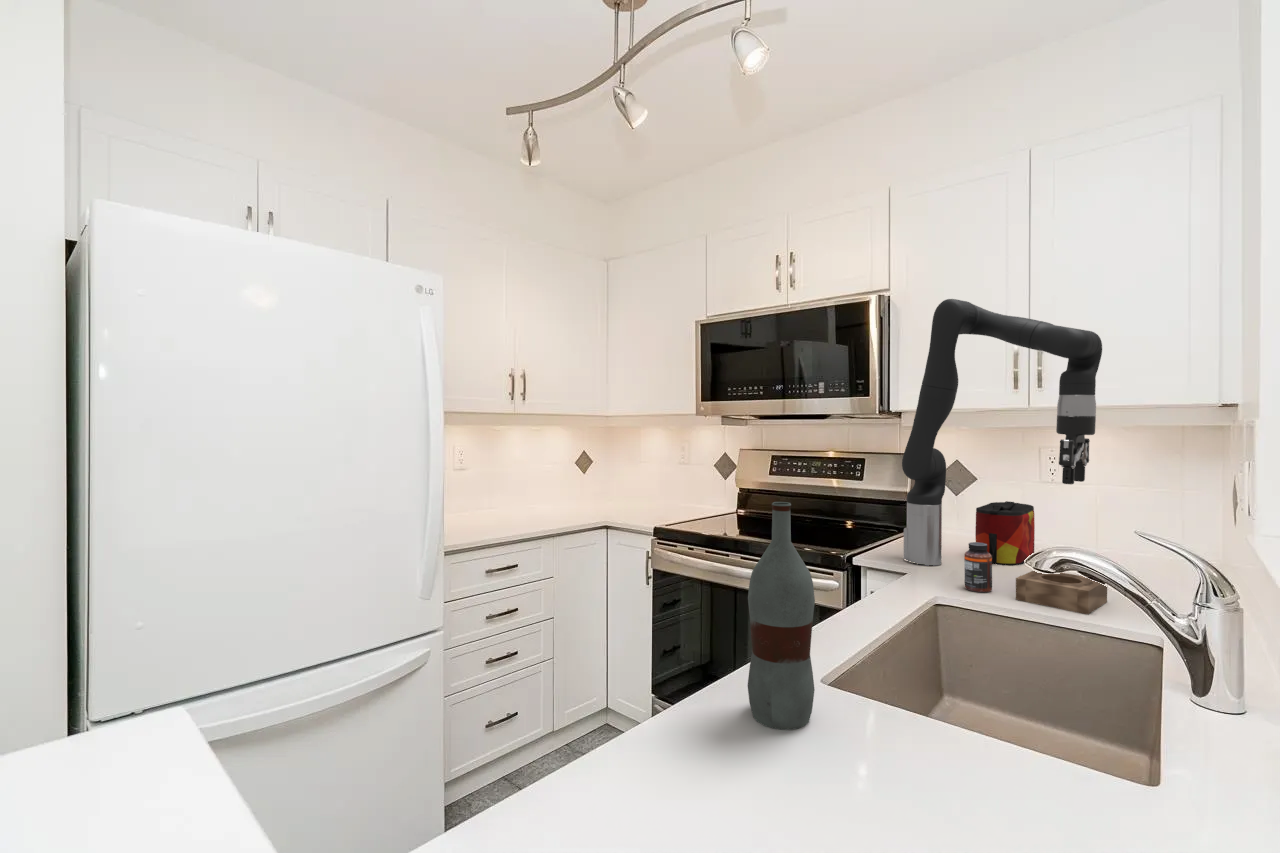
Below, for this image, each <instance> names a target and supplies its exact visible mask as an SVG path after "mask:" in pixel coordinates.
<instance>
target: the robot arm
mask: <svg viewBox="0 0 1280 853" xmlns="http://www.w3.org/2000/svg"><path fill="white" fill-rule="evenodd" d="M960 335H975V336H977V335H978V336H984V337H985V336H986V337H990V338H994V339H998V340H1001V341H1004V342H1005V343H1008V344H1011V345H1015V346H1018V347H1022V348H1025V349H1031V350H1034V351H1040V352H1045V353H1047V354H1050V355H1054V356H1057V357H1060V358H1064V359H1067V366H1066V370H1065V371H1062V373H1061V374H1060V377H1059V386H1058V390H1059V391H1058V398H1057V399H1058V400H1057V404H1056V405H1057V406H1056V433H1057V434H1058V435H1065V439H1060V440H1059V453H1058V454H1059V457H1058V465H1059V466H1060V467H1061V468H1062V476H1061V477H1062V479H1061V480H1062V482H1061V483H1062V484H1064V485H1074V484H1075V482H1079V483H1080V482H1085V479H1086V466H1087V465H1088V463H1090V442H1091V441H1090V438H1086V437H1085V436H1094V435H1095V433H1096V421H1097V420H1096V418H1097V417H1096V416H1097V402H1096V400H1097V399H1096V384H1097V381H1096V376H1097V373H1098V371H1099V368H1100V367H1099V366H1100V364H1101V363H1100V362H1101V359H1102V354H1103V342H1102V340H1101V337H1100V336H1099V334H1098V333H1096V332H1095V331H1092V330H1086V329H1080V328H1075V327H1070V326H1069V327H1067V326H1062V325H1056V324H1053V323H1051V322H1047V321H1043V320H1037V319H1033V318H1028V317H1020V316H1013V315H1006V314H1001V313H998V312H994V311H990V310H988V309H985V308H983V307H980V306H978V305H976V304H973V303H972V302H969V301H966V300H961V299H955V298H948V299H944V300H942V301H941V302H940V303H939V304H938V305H937V307H936V308H935V309H934V313H933V316H932V323H931V332H930V341H929V349H928V353H927V358H926V364H925V368H924V375H923V378H922V382H921V386H920V391H919V395H918V400H917V405H916V409H915V413H914V414H915V415H914V418H913V423H912V428H911V431H910V434H909V437H908V441H907V444H906V446H905V449H904V451H903V455H902V459H901V469H902V471H903V474H904V475H905V476H906V477H907V478H908V479H910V480H911V481H912V480H913V481H914V485H913V487H912V488H911V489H910V490H909V491H908V492H907V494H906V527H904V528H903V560H904V559H906V560H908V561H911V562H915V563H918V564H925V565H924V566H929V565H933V566H941V565H942V546H943V545H942V540H943V539H942V538H943V537H942V535H943V532H942V531H943V529H942V528H943V527H942V525H943V524H942V520H943V518H942V517H943V514H942V512H943V504H942V503H943V497H944V495H945V491H946V481H947V480H946V478H947V462H946V459H945V456H944V454H943V452H942V451H940V450H939V449H937V448H935V447H934V446H935V441H936V438H937V435H938V433H939V431H940V429H941V428H942V426H943V425H944V423H945V421H946V420H947V419H948V417H949V416H950V413H951V411H952V409H953V408H954V405H955V402H956V397H957V392H958V388H959V373H958V369H957V368H958V367H957V363H956V348H957V347H956V346H957V343H958V340H959V339H958V338H959V336H960ZM918 564H917V565H918Z"/></svg>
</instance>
